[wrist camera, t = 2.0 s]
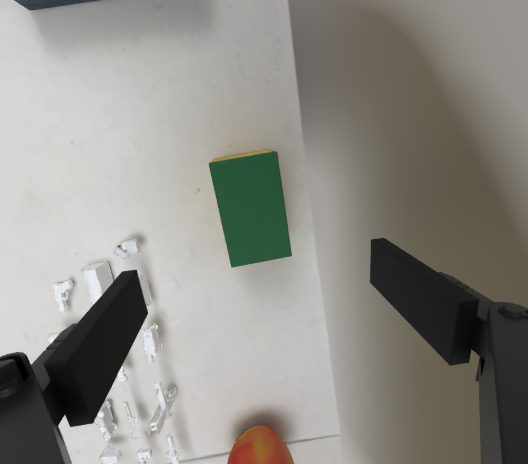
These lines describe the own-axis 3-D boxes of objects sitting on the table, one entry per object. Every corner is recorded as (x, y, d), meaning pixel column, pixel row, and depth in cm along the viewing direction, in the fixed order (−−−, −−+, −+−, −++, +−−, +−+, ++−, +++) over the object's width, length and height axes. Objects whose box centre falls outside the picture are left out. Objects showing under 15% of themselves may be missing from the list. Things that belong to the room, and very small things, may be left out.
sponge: (214, 158, 31) (208, 163, 24) (267, 149, 31) (277, 151, 24) (232, 243, 34) (231, 267, 27) (280, 234, 34) (291, 256, 28)
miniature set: (195, 455, 43) (118, 456, 44) (149, 232, 34) (54, 240, 35) (180, 506, 36) (91, 506, 37) (119, 249, 28) (5, 258, 29)
